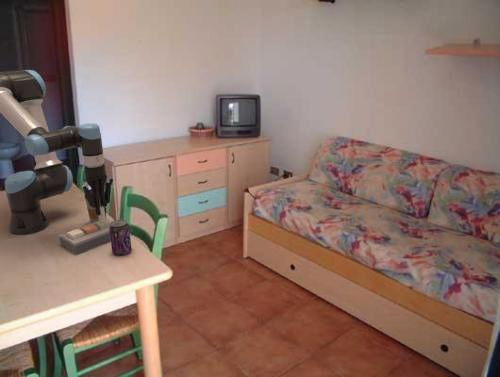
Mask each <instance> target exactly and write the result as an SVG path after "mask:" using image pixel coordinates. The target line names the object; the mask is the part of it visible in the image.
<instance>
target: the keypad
mask: <svg viewBox="0 0 500 377" xmlns="http://www.w3.org/2000/svg"><path fill="white" fill-rule="evenodd" d="M97 222H98V221H97ZM90 224H93V225H94V226H95V222H94V223H91V222H90V223H89V224H87V225H90ZM87 225H83V226H80V227H78V228H75V229H79V230H81V227H84V226H87ZM75 229H72V230H75ZM97 229H98V228H97ZM72 230H69V231H65V232H63V233H61V234H58V237H59V242H60V246H61V247H63V248H64V249H66V250H67V251H69V252H71V253H72V254H74V255H75V256H77V255H80V254H82V253H85V252H88V251H90V250H93V249H95V248H97V247H101V246H102V245H105V244H108V243H111V239H110V232H109V227H108V228H105V229H102V230H100V229H98V231H97V232H94V233H91V234H88V235H86V234H84V236H83V237H80V238H78V239H75V240H72V239H70V238H68V236H67V232H70V231H72ZM81 231H82V230H81Z"/></svg>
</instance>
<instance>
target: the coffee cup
mask: <svg viewBox="0 0 500 377" xmlns="http://www.w3.org/2000/svg"><path fill="white" fill-rule="evenodd" d="M89 191H90V193H91V195H92V198H93V194H92V190H91V188H89ZM104 193H105V191H104ZM98 194H99V192H98ZM84 200H85V202H86V209H87V213H88V214H87V215H88V218H89V221H90V224H91V223H94V222H97V221H99V217H98V215H97V214H96V210H95V208H93V207H91V206H90V205H89V202H88V200H87V198H86V195H85V194H84ZM99 201H100V199H99ZM100 205H101V204H100ZM105 218H106V219H107V212H106V213H105Z"/></svg>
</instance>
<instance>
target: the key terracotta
mask: <svg viewBox="0 0 500 377" xmlns="http://www.w3.org/2000/svg"><path fill="white" fill-rule="evenodd" d="M89 224H90V225H89ZM89 224H87V226H86V225H83V226H84V227H83V226H80V227H81V230H82V231H83V232H84V234H86V235H88V234H91V233H94V232H97V231H98V229H97V227H96V226H94V225H93V224H91V223H89Z"/></svg>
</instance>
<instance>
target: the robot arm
mask: <svg viewBox="0 0 500 377" xmlns="http://www.w3.org/2000/svg"><path fill="white" fill-rule="evenodd" d="M46 93H47V91H46V84H45V82H44V80H43V78H42V77H41V75H40V73H38V72H37V71H35V70H33V69H25V70H24V69H20V70H9V71H0V114H1V115H2V116H3V117H4V118H5V119H6V120H7V121H8V122H9V123H10V124H11V125H12V126H13V127H14V129H15V130H17V131H18V132H19V133H20V134H21V135H22V136H23V138H24V146H25V149H26V150H27V153H28V154H29V155H31V156H33V157H34V160H35V163H36V165H35V166H34V168H33V171H32V170H24V171H18V172H16V173H13V174H11V175H9V176H7V177H6V179H5V180H4V188H5V190H4V191H5V193H6V198H7V202H8V207H9V211H10V215H9V216H10V217H9V220H8V221H9V222H8V229H9V232H10V233H11V234H13V235H28V234H29V235H30V234H34V233H38V232H40V231H43V230H45V229H46V228H47V227H49V224H50V222H49V219H48V217H47V215H46V214H45V212H44V210H43V208H42V204H41V200H45V199H48V198H52V197H54V196H58V195H63V194H64V193H67V192H69V191H71V189H72V187H73V183H74V182H73V181H74V178H73V173H72V171H71V169H70V168H69V166H67V165H64V163H63V161H61V160H60V159H58V157H57V153H56V152H60V151H63V150H68V149H72V148H79V149H81V155H82V161H83V165H84V167H83V168H84V169H83V170H84V175H85V182H84V184H81V185H80V186H79V187H80V189H81V190H82V191H83V193H84V196H85V195H86V198H87V200H88V202H89V205H90V206H91V207H93V208H95V210H96V214H97V215H98V217H99V221H100V222H102V223H104V222H106V220H107V217H106V218H105V213H106V214H107V207H108V204H110V203H111V194H112V193H111V192H112V184H113V182H114V178H111V177H108V175H107V174H106V173H107V171H106V164H105V156H104V147H103V141H102V133H101V129H100V128H101V127H100V126H99V125H98V124H97V123H83V124H80V125H79V126H74V125H66V126H64V127H62V128H61V129H57V130H52V131H50V130H49V127H48V124H47V121H46V117H45V114H44V111H43V108H42V103H43V102H44V96H45V95H46ZM90 189H91V190H92V194H93V198H92V195H91V193H90V191H89V190H90ZM98 192H99V194H98ZM104 192H105V193H104ZM99 199H100V201H99ZM100 204H101V205H100Z"/></svg>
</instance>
